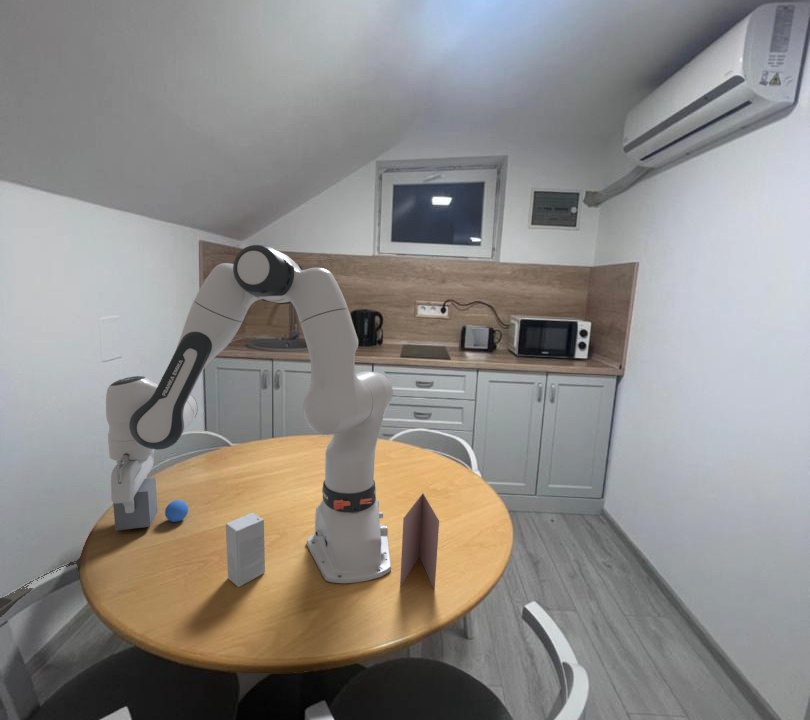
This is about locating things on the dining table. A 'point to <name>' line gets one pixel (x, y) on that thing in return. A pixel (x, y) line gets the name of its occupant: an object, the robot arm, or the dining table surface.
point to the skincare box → (245, 548)
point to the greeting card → (420, 539)
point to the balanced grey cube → (138, 508)
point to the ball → (176, 511)
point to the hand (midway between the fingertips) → (136, 502)
